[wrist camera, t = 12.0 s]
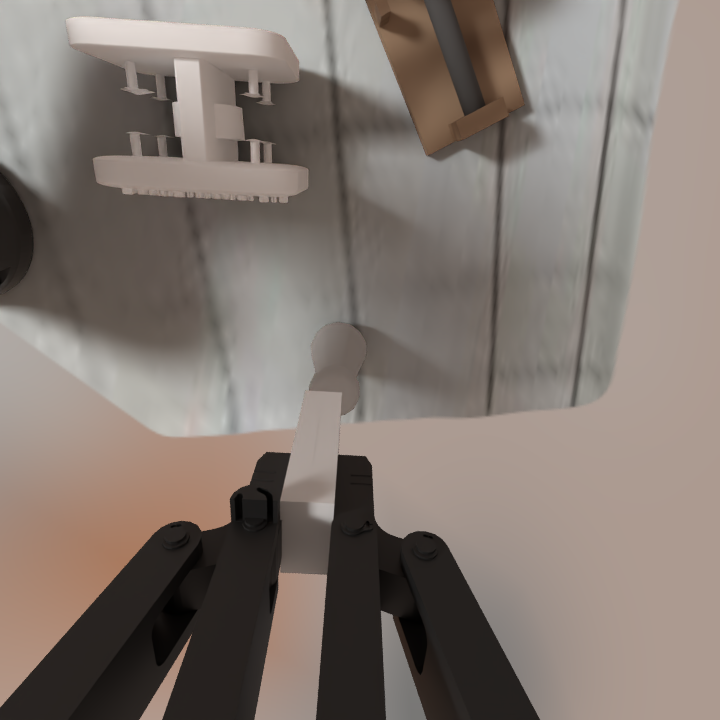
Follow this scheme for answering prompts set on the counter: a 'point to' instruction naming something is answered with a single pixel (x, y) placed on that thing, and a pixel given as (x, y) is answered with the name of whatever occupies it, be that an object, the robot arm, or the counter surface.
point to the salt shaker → (338, 362)
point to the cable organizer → (195, 106)
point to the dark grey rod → (455, 54)
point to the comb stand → (430, 73)
